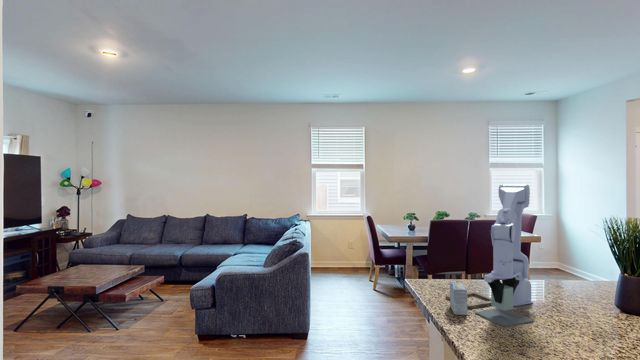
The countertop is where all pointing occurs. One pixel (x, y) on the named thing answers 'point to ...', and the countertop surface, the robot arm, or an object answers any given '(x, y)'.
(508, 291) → the sage block
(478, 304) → the holder frame
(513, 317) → the rubber mat
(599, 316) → the countertop surface
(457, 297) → the medicine box
